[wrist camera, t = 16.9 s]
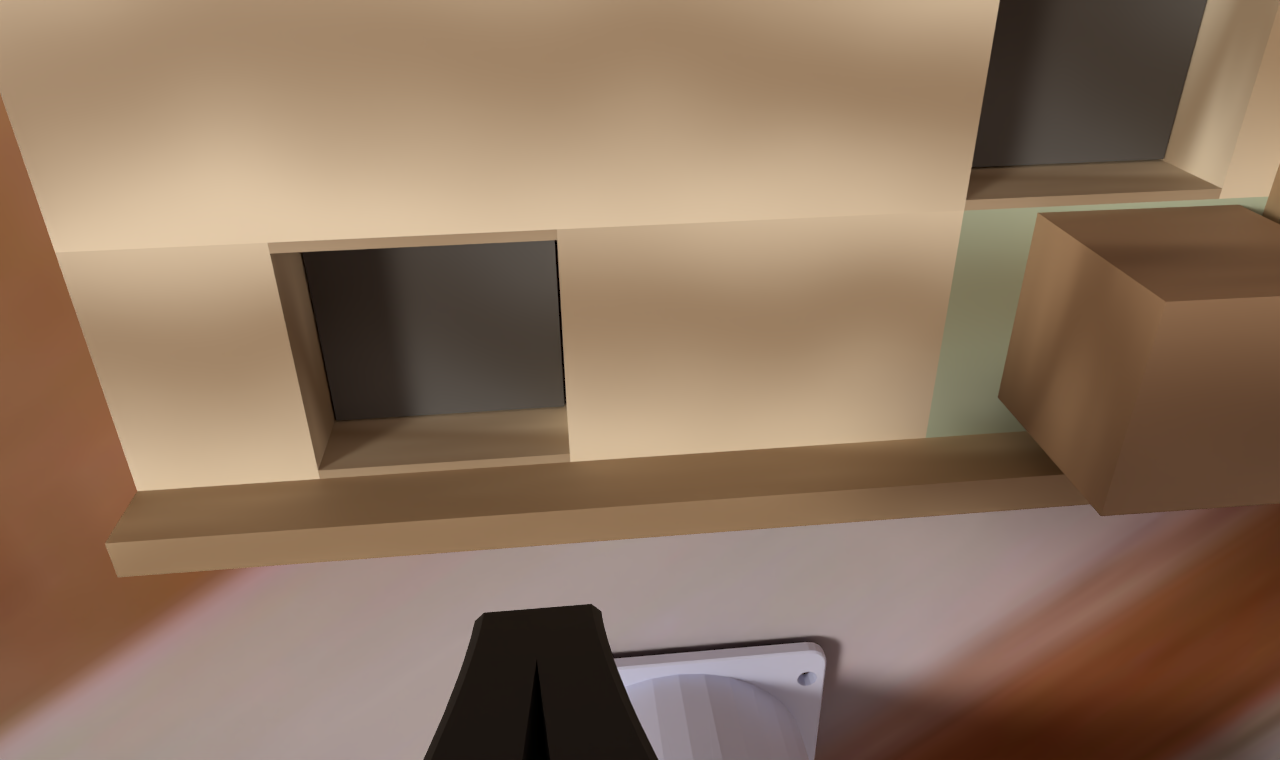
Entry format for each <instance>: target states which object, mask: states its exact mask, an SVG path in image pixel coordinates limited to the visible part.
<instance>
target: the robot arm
mask: <svg viewBox="0 0 1280 760" xmlns="http://www.w3.org/2000/svg"><path fill="white" fill-rule="evenodd" d="M825 670H826V657H825V654H824V652H823V649H822V648H821V647H820V645H818V644H816V643H813V642H801V643H789V644H778V645H766V646H755V647H743V648H731V649H720V650H708V651H697V652H685V653H673V654H662V655H650V656H638V657H627V658H615V659H614V658H613V655H612V652H611V649H610V646H609V643H608V639H607V636H606V632H605V628H604V624H603V619H602V613H601V611H600V610H599V609H597V608H596V607H595V606H593V605H592V604H587V605H575V606H562V607H550V608H538V609H525V610H513V611H501V612H488V613H483V614H482V615H481V616H480V617H479V618H478V619H477V620H476V621H475V623H474V627H473V631H472V635H471V639H470V643H469V646H468V649H467V652H466V656H465V659H464V662H463V665H462V668H461V670H460V673H459V676H458V679H457V681H456V684H455V687H454V689H453V692H452V694H451V697H450V699H449V702H448V704H447V707H446V710H445V712H444V715H443V717H442V719H441V722H440V724H439V726H438V728H437V731H436V733H435V735H434V737H433V740H432V742H431V744H430V746H429V748H428V751H427V753H426V755H425V757H424V760H814V759H815V751H816V743H817V735H818V726H819V718H820V710H821V702H822V694H823V686H824V678H825ZM805 672H808V673H806V674H803V675H802V673H805Z"/></svg>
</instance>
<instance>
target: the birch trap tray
mask: <svg viewBox="0 0 1280 760" xmlns="http://www.w3.org/2000/svg"><path fill="white" fill-rule="evenodd" d="M0 93H1V96H2V99H3V102H4V105H5V108H6V111H7V114H8V117H9V120H10V122H11V125H12V128H13V131H14V134H15V137H16V140H17V143H18V146H19V149H20V152H21V154H22V157H23V160H24V163H25V166H26V169H27V172H28V175H29V178H30V181H31V183H32V186H33V189H34V192H35V195H36V198H37V201H38V204H39V207H40V210H41V212H42V215H43V218H44V221H45V224H46V227H47V230H48V233H49V236H50V239H51V242H52V244H53V247H54V250H55V253H56V256H57V259H58V262H59V265H60V268H61V271H62V273H63V276H64V279H65V282H66V285H67V288H68V291H69V294H70V297H71V300H72V303H73V305H74V308H75V311H76V314H77V317H78V320H79V323H80V326H81V329H82V332H83V334H84V337H85V340H86V343H87V346H88V349H89V352H90V355H91V358H92V361H93V363H94V366H95V369H96V372H97V375H98V378H99V381H100V384H101V387H102V390H103V393H104V395H105V398H106V401H107V404H108V407H109V410H110V413H111V416H112V419H113V422H114V424H115V427H116V430H117V433H118V436H119V439H120V442H121V445H122V448H123V451H124V454H125V456H126V459H127V462H128V465H129V468H130V471H131V474H132V477H133V480H134V483H135V485H136V488H137V493H136V494H135V496H134V498H133V499H132V501H131V502H130V504H129V506H128V507H127V509H126V511H125V512H124V514H123V515H122V517H121V519H120V520H119V522H118V523H117V525H116V527H115V528H114V530H113V531H112V533H111V535H110V536H109V538H108V539H107V541H106V543H105V545H106V548H107V550H108V553H109V555H110V558H111V561H112V563H113V566H114V569H115V571H116V574H117V577H128V576H141V575H154V574H168V573H181V572H194V571H208V570H221V569H234V568H247V567H261V566H274V565H287V564H301V563H314V562H327V561H341V560H354V559H367V558H381V557H394V556H407V555H421V554H434V553H447V552H460V551H474V550H487V549H500V548H514V547H527V546H540V545H554V544H567V543H580V542H594V541H607V540H620V539H633V538H647V537H660V536H673V535H687V534H700V533H713V532H727V531H740V530H753V529H767V528H780V527H793V526H806V525H820V524H833V523H846V522H860V521H873V520H886V519H900V518H913V517H926V516H940V515H953V514H966V513H980V512H993V511H1006V510H1019V509H1033V508H1046V507H1059V506H1073V505H1086V504H1090V503H1089V502H1088V501H1087V500H1086V498H1085V497H1084V496H1083V495H1082V494H1081V493H1080V492H1079V490H1078V489H1077V488H1076V487H1075V486H1074V485H1073V483H1072V482H1071V481H1070V480H1069V479H1068V478H1067V477H1066V475H1065V474H1064V473H1063V472H1062V471H1061V470H1060V469H1059V467H1058V466H1057V465H1056V464H1055V463H1054V462H1053V461H1052V459H1051V458H1050V457H1049V456H1048V455H1047V454H1046V452H1045V451H1044V450H1043V449H1042V448H1041V447H1040V446H1039V444H1038V443H1037V442H1036V441H1035V440H1034V439H1033V438H1032V436H1031V435H1030V434H1029V433H1028V432H1027V431H1026V429H1025V428H1024V427H1023V426H1022V425H1021V424H1020V423H1019V421H1018V420H1017V419H1016V418H1015V417H1014V416H1013V415H1012V413H1011V412H1010V411H1009V410H1008V409H1007V408H1006V406H1005V405H1004V404H1003V403H1002V402H1001V401H1000V400H999V398H998V393H999V389H1000V384H1001V379H1002V375H1003V370H1004V366H1005V361H1006V356H1007V352H1008V347H1009V343H1010V338H1011V333H1012V329H1013V324H1014V319H1015V315H1016V310H1017V306H1018V301H1019V296H1020V292H1021V287H1022V283H1023V278H1024V273H1025V269H1026V264H1027V259H1028V255H1029V250H1030V246H1031V241H1032V236H1033V232H1034V227H1035V223H1036V218H1037V213H1043V212H1067V211H1092V210H1117V209H1141V208H1166V207H1190V206H1215V205H1241V206H1243V207H1245V208H1247V209H1249V210H1251V211H1253V212H1255V213H1257V214H1259V215H1261V216H1263V217H1265V218H1267V219H1269V220H1271V221H1274V222H1276V223H1278V224H1280V0H0ZM555 240H557V249H558V266H559V283H560V300H561V318H562V335H563V352H564V369H565V386H566V404H564V391H563V374H562V357H561V341H560V324H559V307H558V290H557V273H556V256H555Z"/></svg>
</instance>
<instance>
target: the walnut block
mask: <svg viewBox="0 0 1280 760" xmlns="http://www.w3.org/2000/svg"><path fill="white" fill-rule="evenodd" d="M998 398H999V400H1000V401H1001V402H1002V403H1003V404H1004V405H1005V406H1006V408H1007V409H1008V410H1009V411H1010V412H1011V413H1012V415H1013V416H1014V417H1015V418H1016V419H1017V420H1018V421H1019V423H1020V424H1021V425H1022V426H1023V427H1024V428H1025V429H1026V431H1027V432H1028V433H1029V434H1030V435H1031V436H1032V438H1033V439H1034V440H1035V441H1036V442H1037V443H1038V444H1039V446H1040V447H1041V448H1042V449H1043V450H1044V451H1045V452H1046V454H1047V455H1048V456H1049V457H1050V458H1051V459H1052V461H1053V462H1054V463H1055V464H1056V465H1057V466H1058V467H1059V469H1060V470H1061V471H1062V472H1063V473H1064V474H1065V475H1066V477H1067V478H1068V479H1069V480H1070V481H1071V482H1072V483H1073V485H1074V486H1075V487H1076V488H1077V489H1078V490H1079V492H1080V493H1081V494H1082V495H1083V496H1084V497H1085V498H1086V500H1087V501H1088V502H1089V503H1090V504H1091V505H1092V506H1093V508H1094V509H1095V510H1096V511H1097V512H1098V513H1099V515H1100V516H1110V515H1124V514H1138V513H1152V512H1166V511H1180V510H1194V509H1208V508H1222V507H1236V506H1250V505H1264V504H1278V503H1280V224H1278V223H1276V222H1274V221H1271V220H1269V219H1267V218H1265V217H1263V216H1261V215H1259V214H1257V213H1255V212H1253V211H1251V210H1249V209H1247V208H1245V207H1243V206H1241V205H1215V206H1190V207H1166V208H1141V209H1117V210H1092V211H1067V212H1043V213H1037V218H1036V223H1035V227H1034V232H1033V236H1032V241H1031V246H1030V250H1029V255H1028V259H1027V264H1026V269H1025V273H1024V278H1023V283H1022V287H1021V292H1020V296H1019V301H1018V306H1017V310H1016V315H1015V319H1014V324H1013V329H1012V333H1011V338H1010V343H1009V347H1008V352H1007V356H1006V361H1005V366H1004V370H1003V375H1002V379H1001V384H1000V389H999V393H998Z"/></svg>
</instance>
